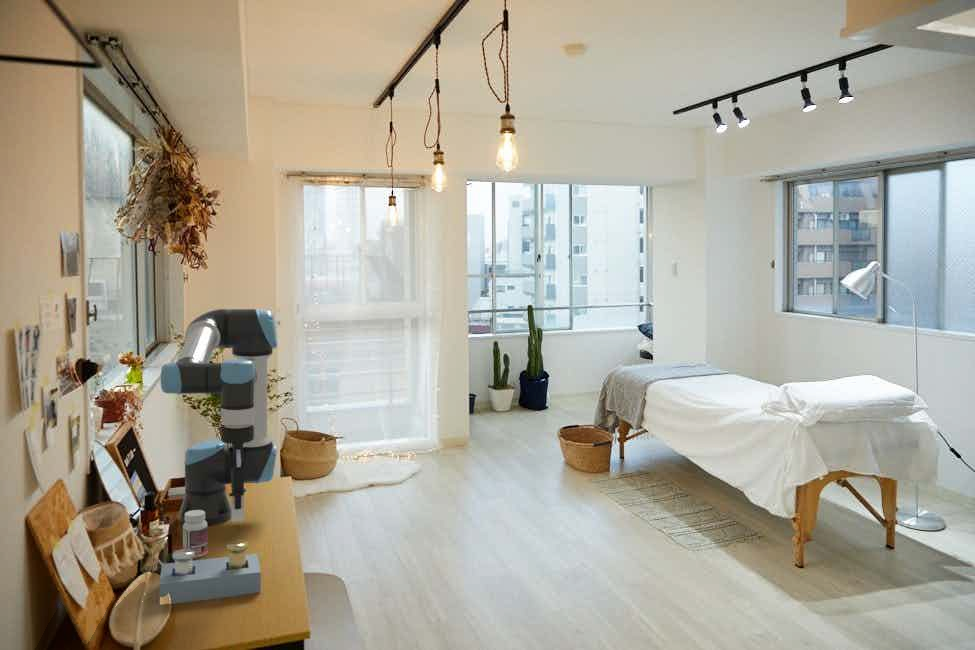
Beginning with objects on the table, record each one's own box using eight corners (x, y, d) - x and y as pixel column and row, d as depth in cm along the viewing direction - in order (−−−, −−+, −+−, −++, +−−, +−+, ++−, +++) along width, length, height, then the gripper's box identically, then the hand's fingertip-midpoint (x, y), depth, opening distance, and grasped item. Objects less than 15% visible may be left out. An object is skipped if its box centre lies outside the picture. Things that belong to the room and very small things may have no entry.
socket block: (162, 584, 176) (161, 564, 176) (257, 572, 184) (257, 553, 184) (159, 605, 165) (159, 584, 165) (260, 592, 173) (260, 572, 173)
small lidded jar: (173, 584, 174) (173, 550, 173) (194, 582, 176) (194, 547, 175) (172, 593, 169) (172, 557, 169) (194, 590, 171) (194, 555, 171)
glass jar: (226, 575, 178) (226, 541, 178) (247, 573, 180) (247, 539, 179) (227, 583, 174) (227, 548, 173) (248, 581, 175) (248, 546, 175)
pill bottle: (212, 551, 198) (212, 510, 197) (198, 559, 192) (198, 517, 191) (192, 548, 199) (192, 508, 198) (177, 557, 193) (177, 515, 192)
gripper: (220, 419, 179) (220, 513, 181) (221, 431, 167) (221, 531, 169) (252, 418, 182) (252, 510, 184) (255, 429, 170) (255, 528, 172)
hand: (237, 520), depth 176 cm, fingers closed
